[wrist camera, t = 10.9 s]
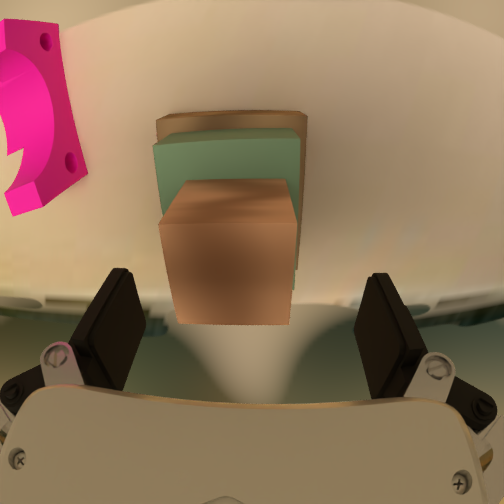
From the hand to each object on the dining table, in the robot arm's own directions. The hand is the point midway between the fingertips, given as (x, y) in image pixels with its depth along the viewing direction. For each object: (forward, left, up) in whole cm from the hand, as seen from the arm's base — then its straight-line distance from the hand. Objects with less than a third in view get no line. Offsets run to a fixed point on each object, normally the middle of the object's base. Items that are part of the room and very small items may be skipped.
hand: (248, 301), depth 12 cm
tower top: (+1, 0, -11) cm, 11 cm away
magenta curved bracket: (+19, -8, -15) cm, 25 cm away
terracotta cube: (+1, 0, -7) cm, 7 cm away
